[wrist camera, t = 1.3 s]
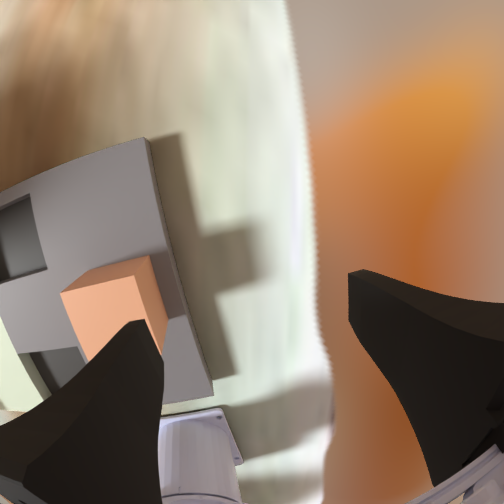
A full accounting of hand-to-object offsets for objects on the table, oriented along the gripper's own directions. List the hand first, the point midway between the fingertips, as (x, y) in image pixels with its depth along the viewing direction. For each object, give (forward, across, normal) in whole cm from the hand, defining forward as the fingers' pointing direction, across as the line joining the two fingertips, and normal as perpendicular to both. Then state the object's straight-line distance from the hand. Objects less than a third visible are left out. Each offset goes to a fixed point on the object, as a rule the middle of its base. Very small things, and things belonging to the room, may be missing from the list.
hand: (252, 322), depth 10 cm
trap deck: (+10, +17, +2) cm, 20 cm away
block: (+8, +8, +2) cm, 11 cm away
